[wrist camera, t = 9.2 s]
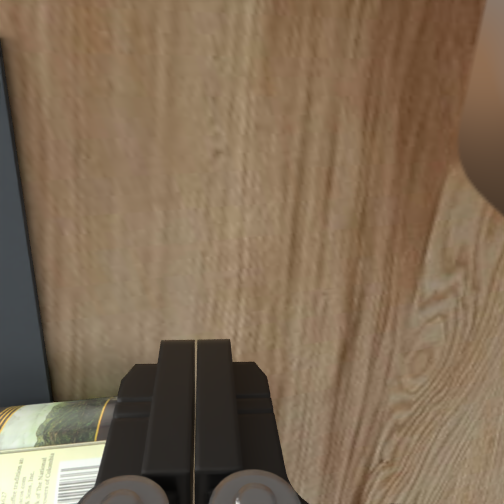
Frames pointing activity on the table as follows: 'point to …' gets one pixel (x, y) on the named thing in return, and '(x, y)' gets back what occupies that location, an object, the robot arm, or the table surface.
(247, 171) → the table surface
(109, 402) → the coffee can
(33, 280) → the mat
